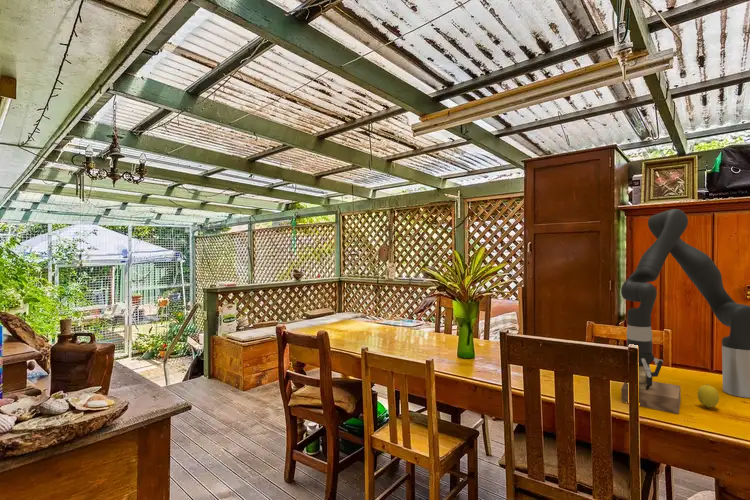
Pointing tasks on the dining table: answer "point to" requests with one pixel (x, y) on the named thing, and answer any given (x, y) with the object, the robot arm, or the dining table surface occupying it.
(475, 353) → the dining table surface
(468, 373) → the dining table surface
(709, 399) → the lemon
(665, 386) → the board
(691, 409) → the dining table surface
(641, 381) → the peg
